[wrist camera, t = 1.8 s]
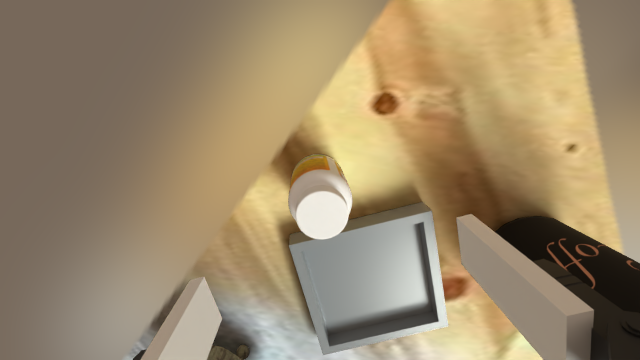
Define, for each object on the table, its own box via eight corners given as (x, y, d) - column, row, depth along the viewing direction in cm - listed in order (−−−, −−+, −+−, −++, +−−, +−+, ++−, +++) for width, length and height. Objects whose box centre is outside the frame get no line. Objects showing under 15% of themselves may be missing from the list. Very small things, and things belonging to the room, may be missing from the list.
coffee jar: (563, 200, 33) (840, 319, 16) (567, 277, 36) (803, 447, 19) (470, 227, 34) (641, 371, 16) (482, 301, 37) (637, 488, 20)
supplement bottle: (282, 188, 31) (272, 230, 22) (306, 143, 30) (307, 168, 21) (327, 210, 32) (335, 259, 23) (352, 168, 31) (372, 202, 22)
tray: (322, 338, 37) (323, 355, 35) (290, 234, 33) (288, 245, 30) (439, 310, 37) (448, 326, 34) (422, 201, 32) (431, 210, 30)
